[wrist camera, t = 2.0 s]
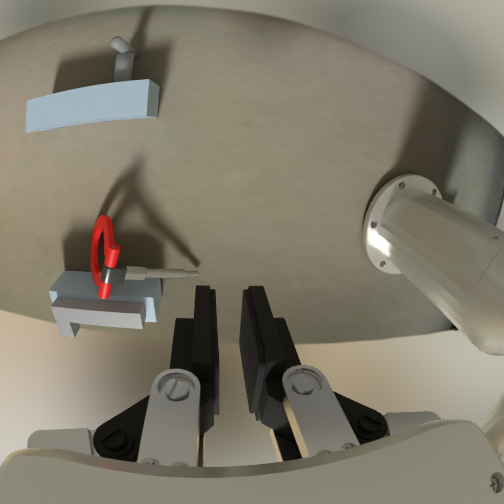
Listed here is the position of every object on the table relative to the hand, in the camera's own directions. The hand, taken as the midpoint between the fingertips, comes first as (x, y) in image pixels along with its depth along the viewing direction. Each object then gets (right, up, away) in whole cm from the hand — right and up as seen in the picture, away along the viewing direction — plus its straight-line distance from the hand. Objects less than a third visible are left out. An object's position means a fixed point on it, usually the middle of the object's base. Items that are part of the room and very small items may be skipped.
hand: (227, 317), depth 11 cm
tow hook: (-12, +4, +18) cm, 22 cm away
